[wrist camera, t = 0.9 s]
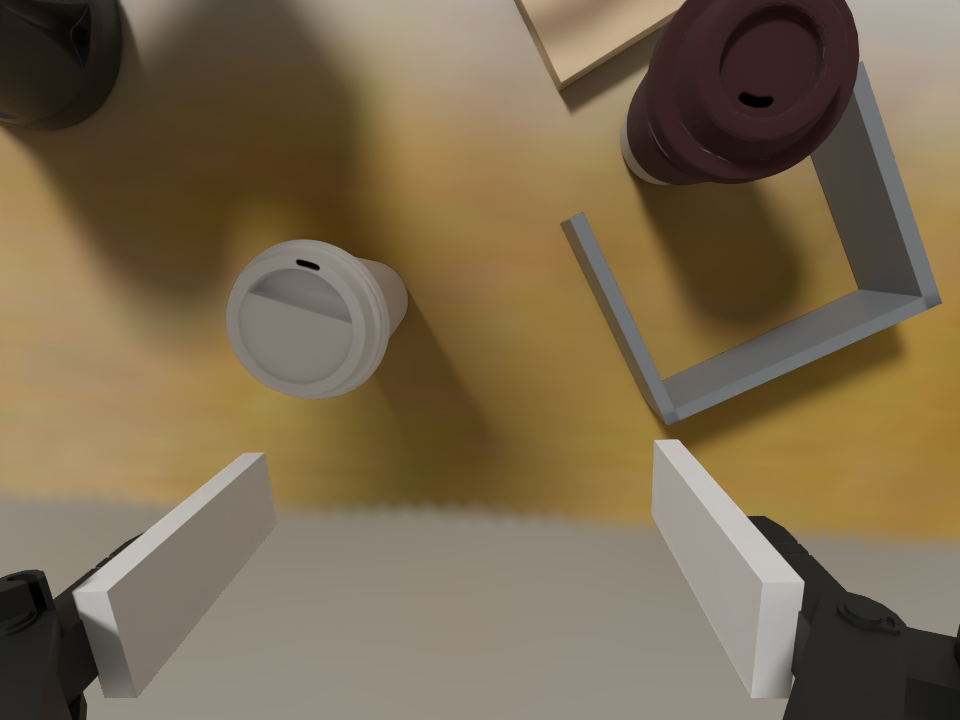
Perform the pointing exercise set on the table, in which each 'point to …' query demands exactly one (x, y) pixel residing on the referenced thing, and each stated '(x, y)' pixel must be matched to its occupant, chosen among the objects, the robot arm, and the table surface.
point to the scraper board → (589, 31)
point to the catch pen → (875, 306)
